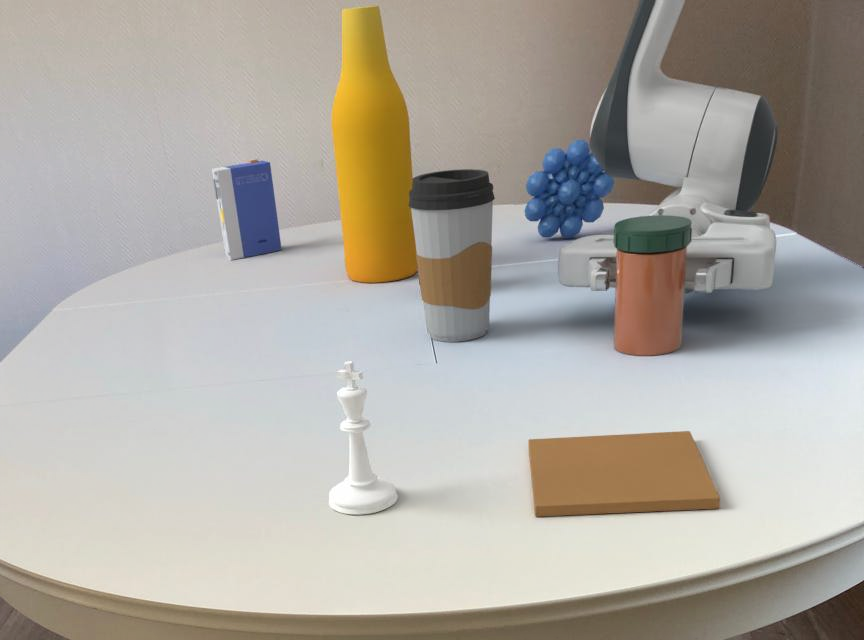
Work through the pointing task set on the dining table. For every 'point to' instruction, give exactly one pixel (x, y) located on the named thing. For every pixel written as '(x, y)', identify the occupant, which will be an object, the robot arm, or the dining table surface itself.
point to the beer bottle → (372, 155)
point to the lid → (652, 233)
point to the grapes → (567, 191)
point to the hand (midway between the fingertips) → (649, 282)
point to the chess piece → (358, 456)
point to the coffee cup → (454, 251)
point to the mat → (619, 474)
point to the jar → (649, 301)
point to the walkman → (247, 209)
